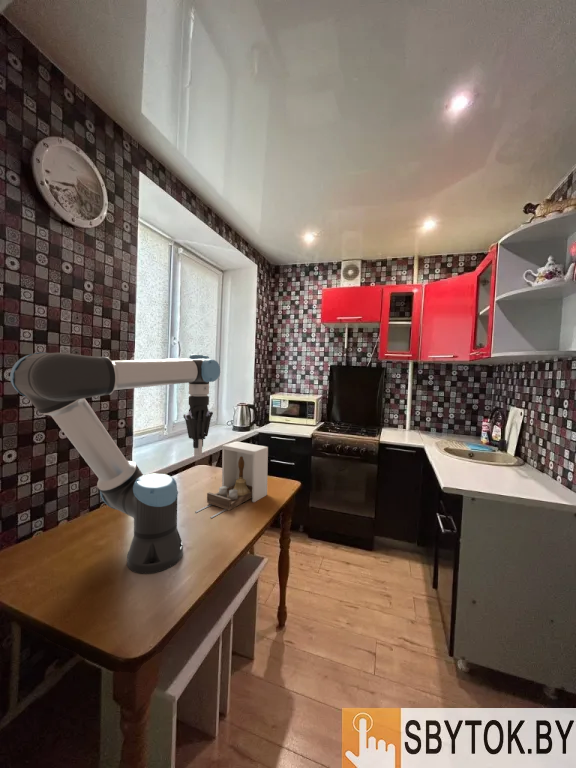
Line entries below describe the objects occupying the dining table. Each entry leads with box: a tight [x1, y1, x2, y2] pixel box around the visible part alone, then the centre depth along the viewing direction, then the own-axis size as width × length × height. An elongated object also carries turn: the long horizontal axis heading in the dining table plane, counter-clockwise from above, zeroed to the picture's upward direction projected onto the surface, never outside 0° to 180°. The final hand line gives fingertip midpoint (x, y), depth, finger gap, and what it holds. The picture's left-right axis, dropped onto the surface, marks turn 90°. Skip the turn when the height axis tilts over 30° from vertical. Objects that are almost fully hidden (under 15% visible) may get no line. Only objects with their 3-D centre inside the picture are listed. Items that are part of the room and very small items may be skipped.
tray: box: [206, 485, 252, 511], centre depth 134 cm, size 20×12×5 cm, turn 149°
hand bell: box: [234, 456, 250, 496], centre depth 137 cm, size 8×8×16 cm
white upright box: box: [195, 440, 269, 519], centre depth 131 cm, size 29×18×22 cm, turn 149°
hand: (198, 455), depth 121 cm, fingers closed
